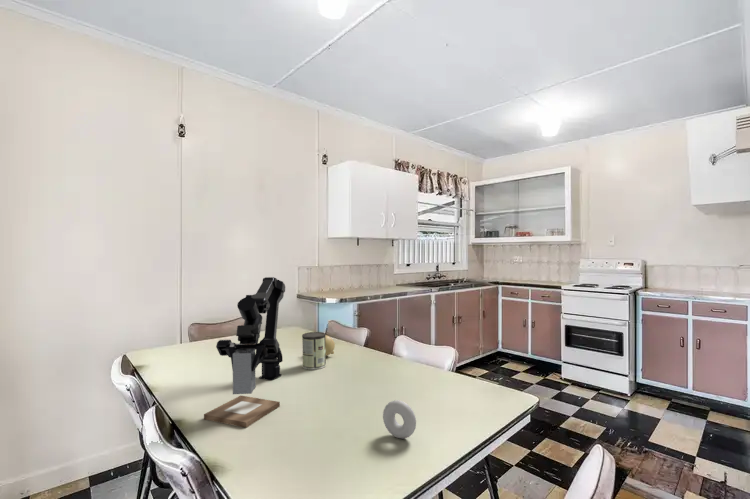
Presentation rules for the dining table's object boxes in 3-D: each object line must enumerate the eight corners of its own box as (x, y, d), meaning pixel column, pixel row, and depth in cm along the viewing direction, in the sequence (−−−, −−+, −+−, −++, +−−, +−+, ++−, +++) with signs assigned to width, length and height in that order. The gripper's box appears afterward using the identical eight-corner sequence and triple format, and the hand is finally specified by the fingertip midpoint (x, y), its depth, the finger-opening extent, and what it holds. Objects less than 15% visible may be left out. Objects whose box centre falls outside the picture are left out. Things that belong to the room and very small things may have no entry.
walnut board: (203, 419, 115) (203, 413, 115) (240, 399, 130) (240, 395, 130) (246, 427, 109) (246, 422, 109) (279, 406, 124) (279, 401, 124)
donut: (380, 435, 104) (380, 398, 104) (387, 430, 107) (387, 394, 107) (412, 445, 98) (412, 407, 98) (418, 440, 101) (418, 402, 101)
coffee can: (309, 361, 174) (309, 331, 174) (329, 363, 170) (329, 332, 171) (297, 368, 164) (297, 336, 164) (319, 370, 161) (318, 337, 161)
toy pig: (323, 352, 190) (323, 331, 191) (338, 356, 182) (338, 334, 182) (307, 356, 184) (307, 334, 184) (322, 361, 175) (322, 338, 175)
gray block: (238, 387, 122) (237, 349, 122) (255, 387, 122) (255, 348, 122) (232, 394, 116) (232, 353, 116) (251, 393, 117) (250, 353, 117)
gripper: (217, 315, 123) (205, 359, 112) (276, 314, 124) (269, 357, 113) (225, 334, 131) (214, 376, 120) (280, 332, 132) (274, 374, 121)
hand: (243, 371), depth 118 cm, fingers closed on gray block, 5 cm apart
